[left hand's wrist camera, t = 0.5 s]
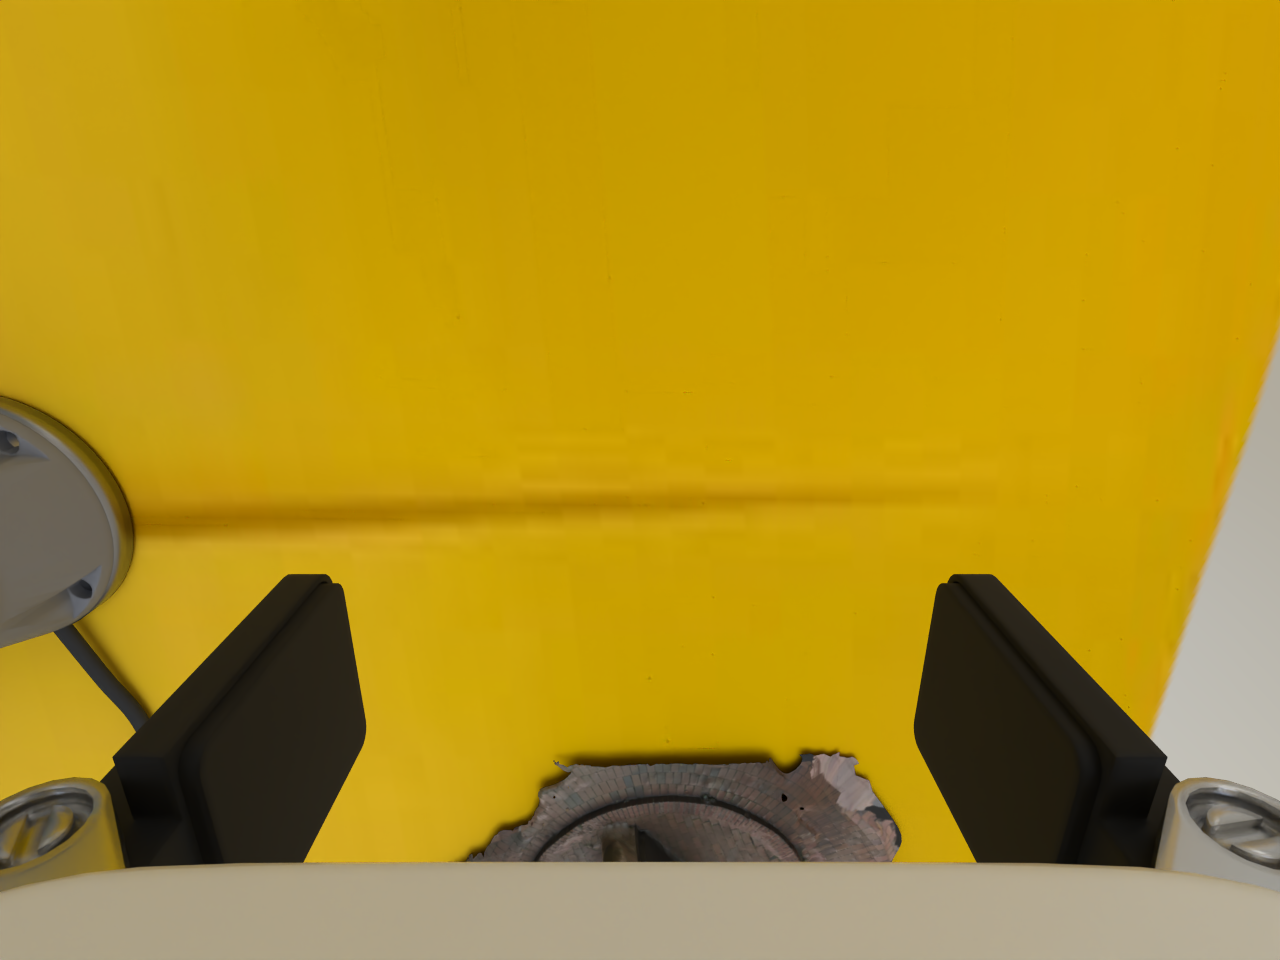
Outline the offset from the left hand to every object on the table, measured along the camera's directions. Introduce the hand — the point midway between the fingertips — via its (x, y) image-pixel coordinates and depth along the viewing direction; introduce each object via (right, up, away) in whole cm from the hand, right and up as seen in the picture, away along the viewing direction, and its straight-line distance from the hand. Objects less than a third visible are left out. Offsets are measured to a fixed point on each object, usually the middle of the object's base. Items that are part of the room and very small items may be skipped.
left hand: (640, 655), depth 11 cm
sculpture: (+3, -29, +44) cm, 53 cm away
